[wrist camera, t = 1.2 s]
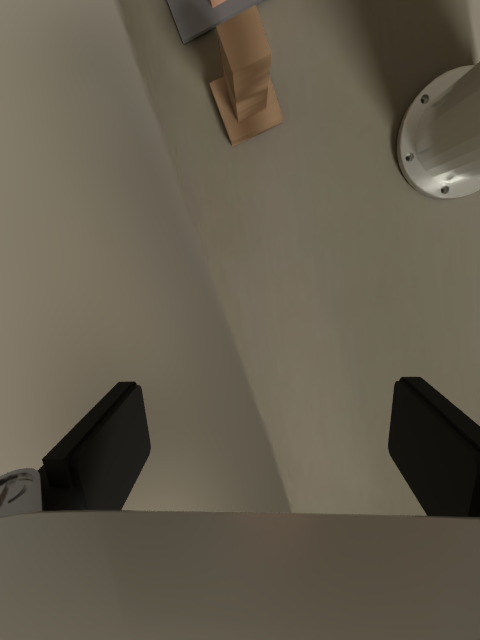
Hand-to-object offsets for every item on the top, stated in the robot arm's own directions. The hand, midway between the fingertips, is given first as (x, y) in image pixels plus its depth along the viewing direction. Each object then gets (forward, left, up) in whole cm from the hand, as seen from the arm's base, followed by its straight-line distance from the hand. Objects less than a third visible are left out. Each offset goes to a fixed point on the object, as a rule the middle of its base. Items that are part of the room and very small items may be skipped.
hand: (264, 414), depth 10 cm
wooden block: (-7, -20, -27) cm, 34 cm away
